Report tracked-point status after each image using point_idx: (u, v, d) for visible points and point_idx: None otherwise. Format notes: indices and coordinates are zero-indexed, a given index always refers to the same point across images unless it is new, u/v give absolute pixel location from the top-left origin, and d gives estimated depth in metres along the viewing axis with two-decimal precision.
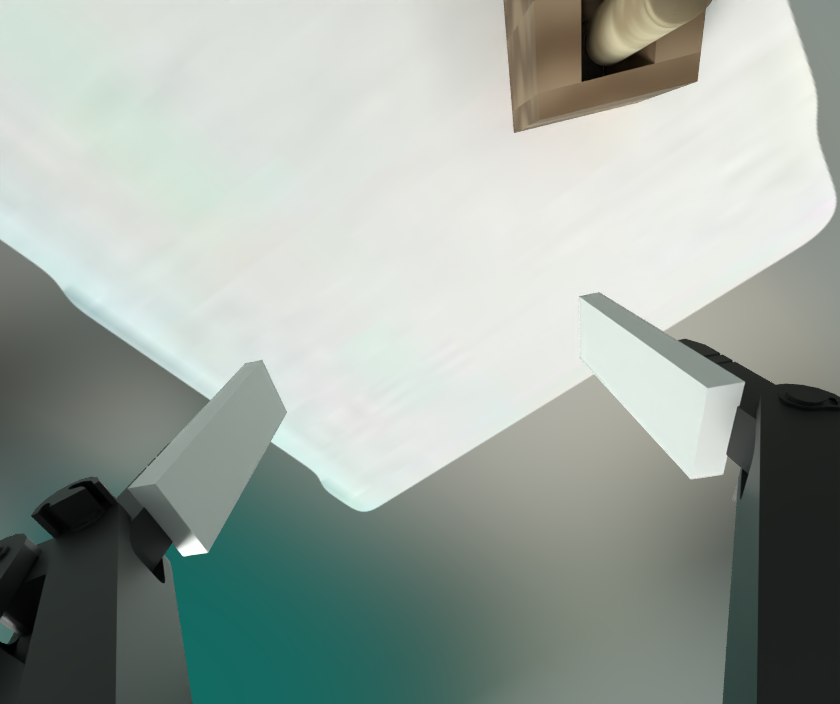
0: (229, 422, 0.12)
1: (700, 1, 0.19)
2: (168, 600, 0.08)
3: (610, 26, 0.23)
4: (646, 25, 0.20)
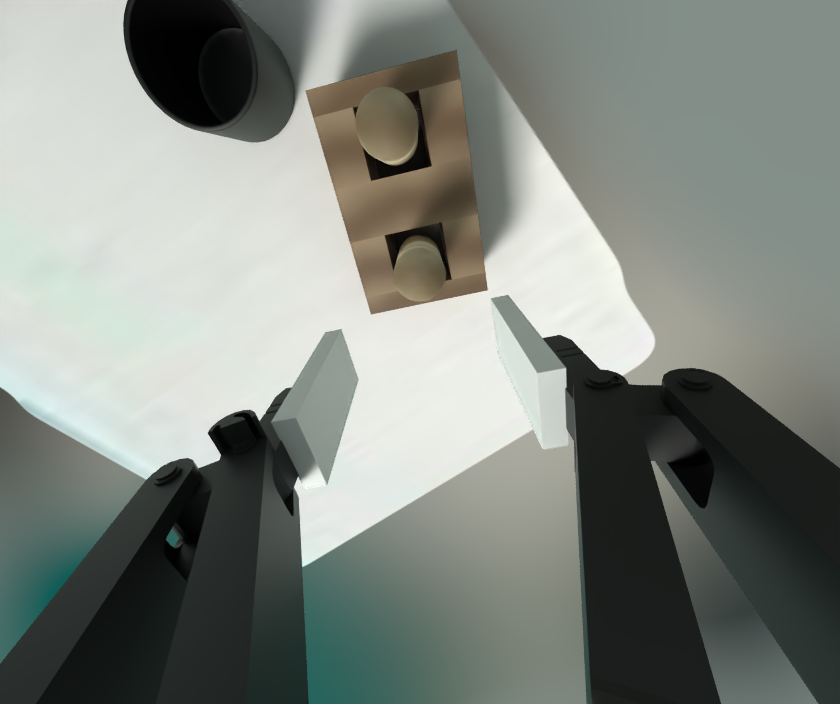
0: (328, 378, 0.13)
1: (433, 289, 0.27)
2: (294, 532, 0.09)
3: None
4: None
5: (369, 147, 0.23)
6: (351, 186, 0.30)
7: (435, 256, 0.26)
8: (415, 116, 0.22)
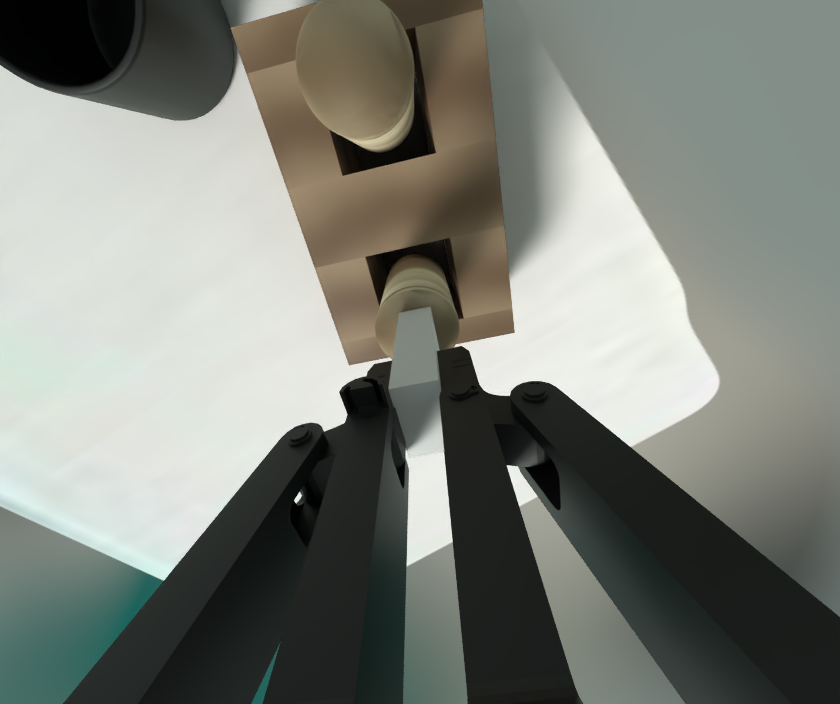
0: None
1: (440, 348, 0.17)
2: (403, 505, 0.09)
3: None
4: None
5: (324, 113, 0.12)
6: (312, 184, 0.20)
7: (443, 299, 0.16)
8: (408, 52, 0.12)
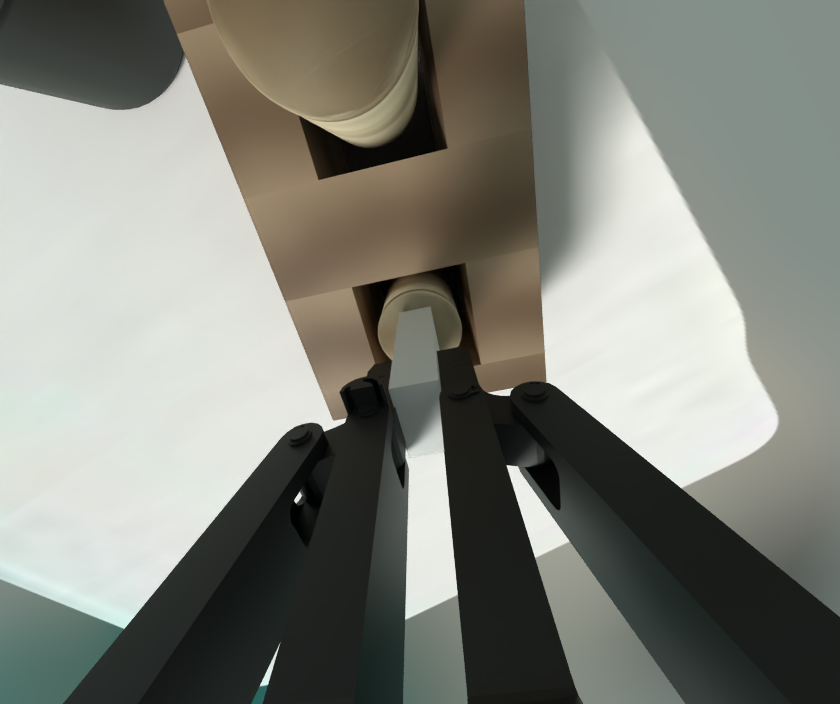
0: None
1: None
2: (403, 505, 0.09)
3: None
4: None
5: (260, 71, 0.07)
6: (278, 191, 0.14)
7: (445, 303, 0.16)
8: None
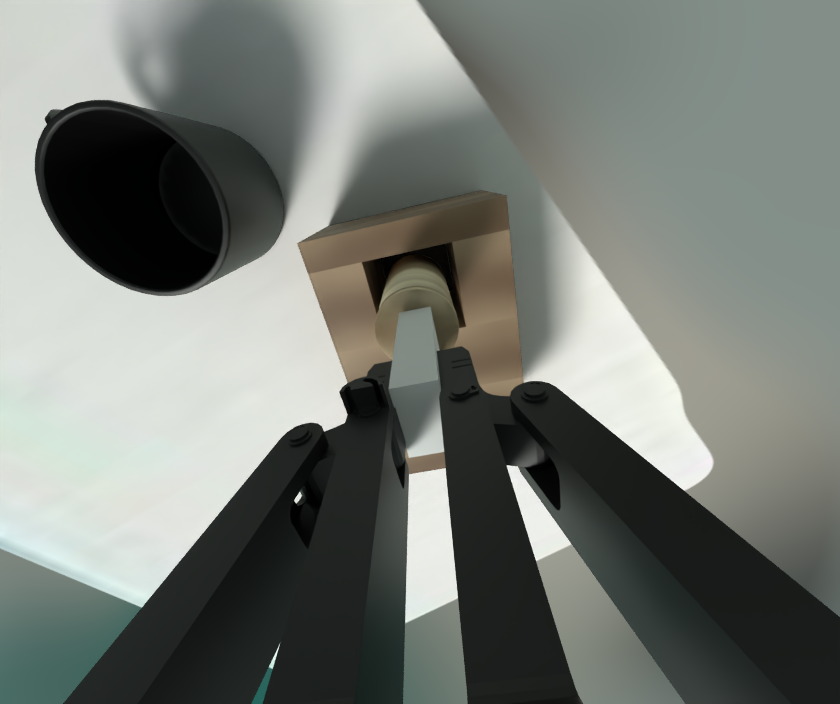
0: None
1: None
2: (404, 505, 0.09)
3: None
4: None
5: (392, 352, 0.17)
6: (359, 349, 0.23)
7: None
8: (455, 320, 0.16)
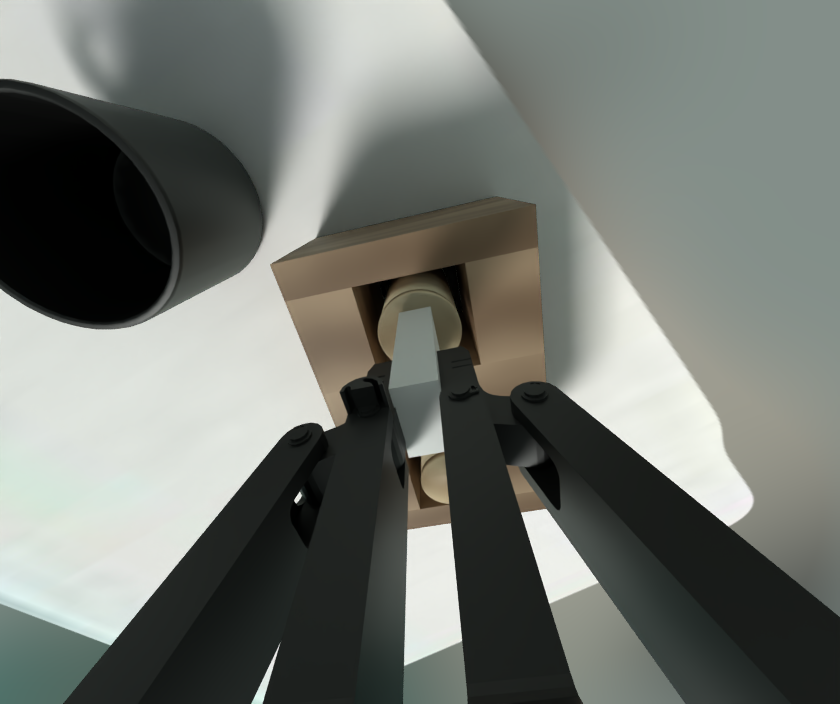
0: None
1: None
2: (403, 505, 0.09)
3: None
4: None
5: None
6: None
7: None
8: (458, 323, 0.16)
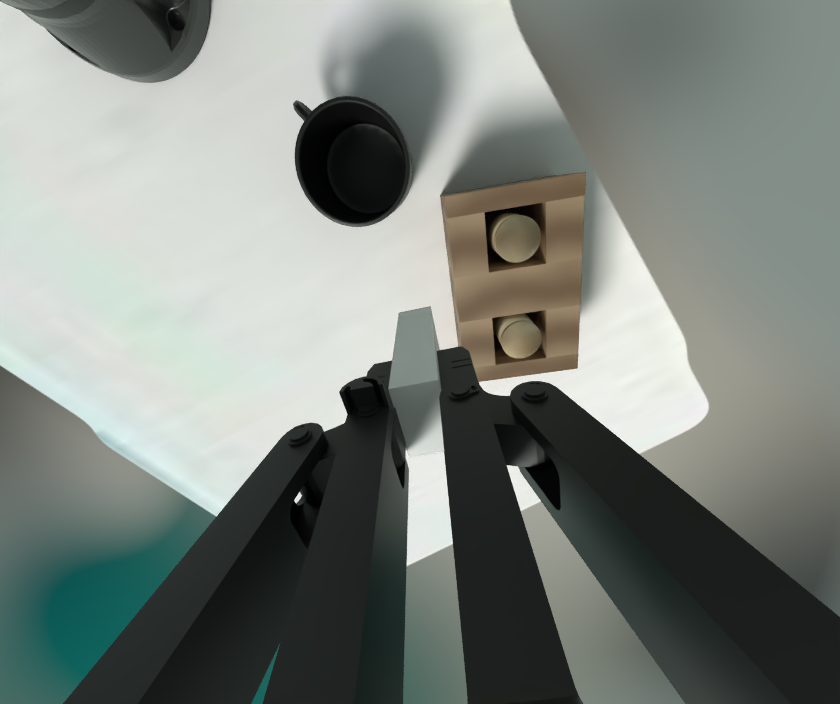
0: None
1: (530, 350, 0.36)
2: (403, 505, 0.09)
3: (494, 331, 0.39)
4: None
5: (502, 252, 0.31)
6: (470, 276, 0.33)
7: (536, 327, 0.35)
8: (539, 235, 0.31)
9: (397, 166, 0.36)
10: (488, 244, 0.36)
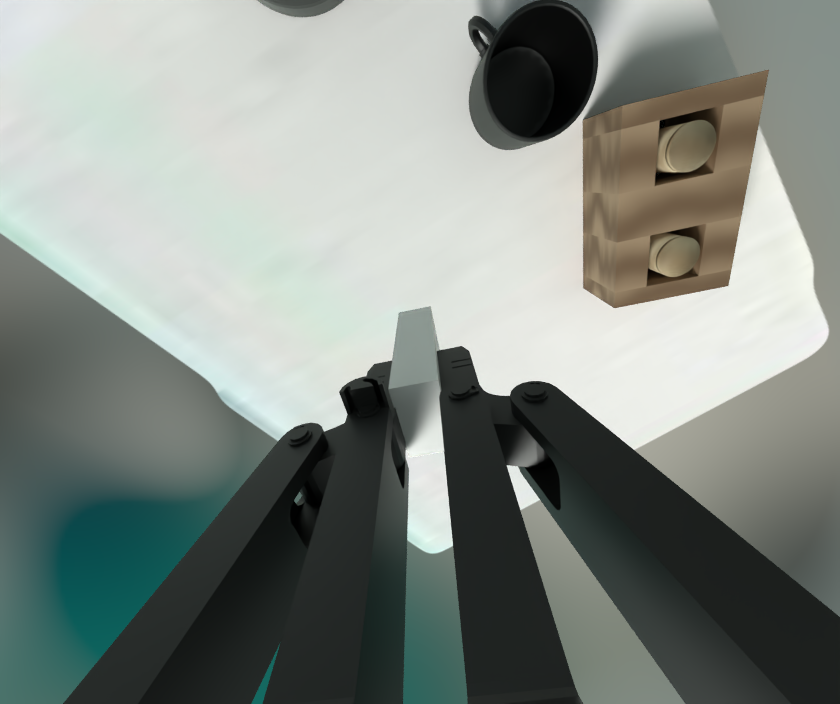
0: None
1: (686, 267, 0.36)
2: (403, 505, 0.09)
3: None
4: (657, 271, 0.37)
5: (674, 162, 0.32)
6: (635, 191, 0.33)
7: (695, 242, 0.35)
8: (714, 140, 0.31)
9: (544, 91, 0.36)
10: None
